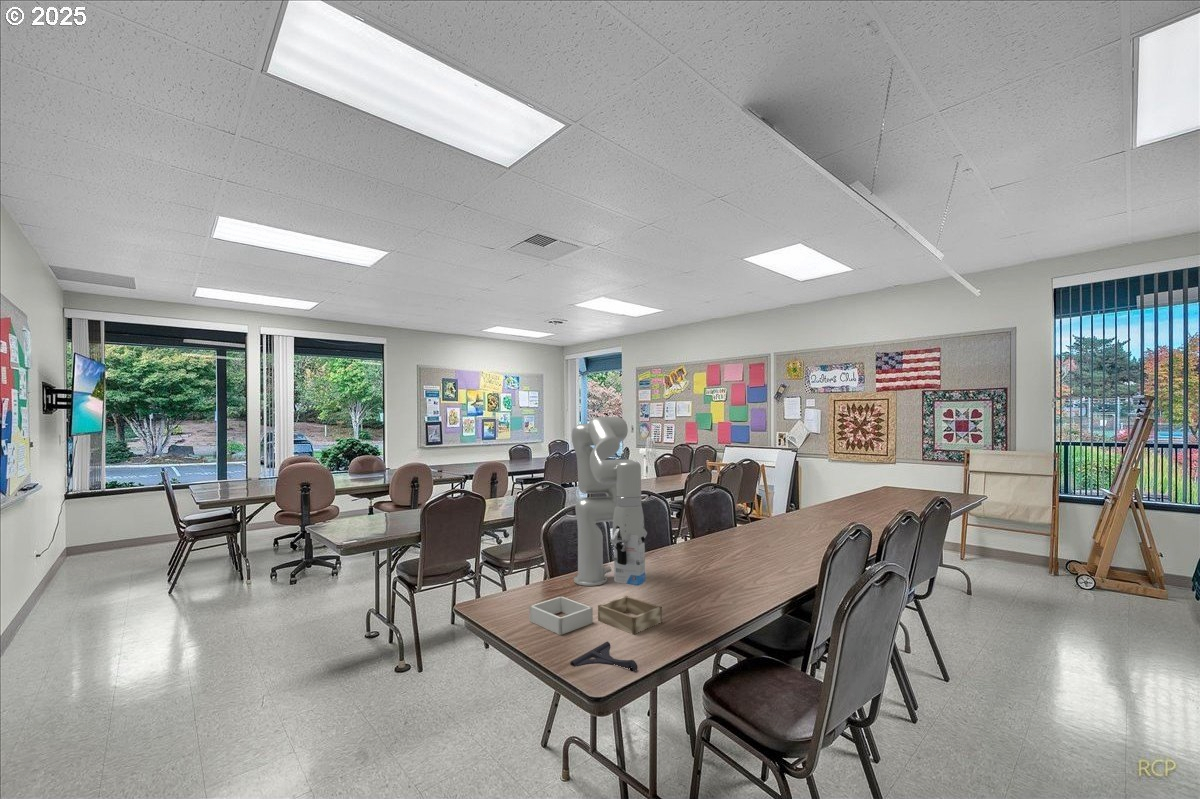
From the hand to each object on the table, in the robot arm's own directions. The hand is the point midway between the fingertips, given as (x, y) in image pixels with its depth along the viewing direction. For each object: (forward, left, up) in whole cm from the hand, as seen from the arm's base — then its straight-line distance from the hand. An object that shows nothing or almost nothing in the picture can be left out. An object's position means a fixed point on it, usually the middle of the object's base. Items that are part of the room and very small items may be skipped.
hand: (629, 561), depth 154 cm
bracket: (+23, +14, -19) cm, 33 cm away
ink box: (0, 0, -6) cm, 6 cm away
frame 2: (0, 0, -18) cm, 18 cm away
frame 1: (+15, -15, -18) cm, 27 cm away
